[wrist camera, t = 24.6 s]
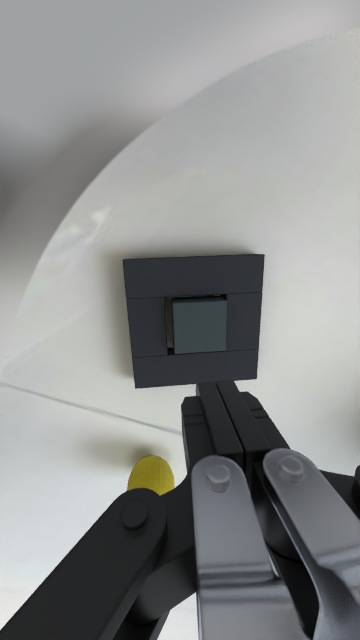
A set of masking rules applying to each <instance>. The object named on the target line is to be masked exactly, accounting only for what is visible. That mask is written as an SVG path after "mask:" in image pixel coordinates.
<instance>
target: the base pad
mask: <svg viewBox="0 0 360 640" xmlns="http://www.w3.org/2000/svg"><path fill="white" fill-rule="evenodd" d="M264 256H265V255H264V254H247V255H220V256H193V257H166V258H139V259H124V260H123V269H124V279H125V289H126V298H127V310H128V320H129V330H130V340H131V350H132V360H133V370H134V381H135V388H149V387H162V386H174V385H187V384H196V383H205V382H217V381H229V380H233V381H237V380H250V379H257V365H258V350H259V335H260V320H261V304H262V287H263V271H264ZM213 294H222V298H223V299H225V300H226V301H227V318H226V350H225V351H213V352H198V353H182V354H175V352H174V348H167V335H166V316H165V298H164V297H173V296H193V295H213Z"/></svg>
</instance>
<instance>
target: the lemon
mask: <svg viewBox="0 0 360 640" xmlns="http://www.w3.org/2000/svg"><path fill="white" fill-rule="evenodd" d="M135 488H148V489H151V490H153V491H155V492H156V493H157V494H159V496H160V495H162V494H164V493H166V492H168V491H170V490H172V489H174V476H173V473H172V470H171V468H170V466H169V465H168V463H167V462H166V461H165V460H163V459H162V458H160V457H158V456H147V457H145V458H143V459H141V460H140V461H139V462H138V463H137V464H136V465H135V466H134V468H133V469H132V472H131V474H130V477H129V480H128V487H127V491H129V490H131V489H135Z"/></svg>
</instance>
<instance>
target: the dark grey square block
mask: <svg viewBox="0 0 360 640" xmlns="http://www.w3.org/2000/svg"><path fill="white" fill-rule="evenodd" d="M171 304H172V329H173V346H174V352H175V354H182V353H198V352H213V351H225V350H226V318H227V301H226V300H225V299H223V298H222V297H221V296H198V297H176V298H171Z"/></svg>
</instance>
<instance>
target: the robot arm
mask: <svg viewBox="0 0 360 640" xmlns="http://www.w3.org/2000/svg"><path fill="white" fill-rule="evenodd" d="M181 413H182V436H183V445H184V452H185V459H186V468H187V475H186V477H185V479H184V480H183V481H182V482H181V484H180V485H178V486H177V487H176V488H174V489H172V490H170V491H168V492H166V493H164V494H162V495H160V496H159V494H157V493H156V492H155V491H153V490H151V489H148V488H135V489H131V490H129V491H126V492H125V493H123V494H121V495H120V496H119V497H118V498H117V499H116V500H115V501H114V502H113V503H112V504H111V505H110V506H109V507H108V508H107V510H106V511H105V512H104V513H103V514H102V515H101V516H100V518H99V519H98V520H97V521H96V522H95V523H94V524H93V526H92V527H91V528H90V529H89V530H88V531H87V532H86V533H85V535H84V536H83V537H82V538H81V539H80V540H79V541H78V543H77V544H76V545H75V546H74V547H73V548H72V549H71V551H70V552H69V553H68V554H67V555H66V556H65V557H64V559H63V560H62V561H61V562H60V563H59V564H58V565H57V566H56V568H55V569H54V570H53V571H52V572H51V573H50V574H49V576H48V577H47V578H46V579H45V580H44V581H43V582H42V584H41V585H40V586H39V587H38V588H37V589H36V590H35V591H34V593H33V594H32V595H31V596H30V597H29V598H28V599H27V601H26V602H25V603H24V604H23V605H22V606H21V607H20V609H19V610H18V611H17V612H16V613H15V614H14V615H13V617H12V618H11V619H10V620H9V621H8V622H7V623H6V624H5V626H4V627H3V628H2V629H1V630H0V640H157V638H158V636H159V634H160V632H161V630H162V628H163V626H164V623H165V621H166V619H167V617H168V614H169V612H170V610H171V609H172V608H173V607H175V606H176V605H178V604H179V603H181V602H182V601H184V600H185V599H186V598H188V597H189V596H191V595H192V594H194V593H195V592H196V602H197V620H198V638H199V640H360V465H359V466H358V467H357V468H356V471H355V475H354V477H353V476H348V475H342V474H337V473H331V472H326V471H322V470H319V469H318V468H317V467H316V466H315V465H314V464H313V463H312V461H310V460H309V459H308V458H307V457H305V456H304V455H302V454H301V453H299V452H296V451H294V450H291V449H290V447H289V446H288V444H287V443H286V441H285V440H284V438H283V437H282V435H281V434H280V432H279V431H278V429H277V428H276V426H275V425H274V423H273V422H272V420H271V419H270V418H269V416H268V414H267V412H266V411H265V410H264V408H263V406H262V405H261V403H260V402H259V400H258V399H257V398H256V397H254V396H253V395H251V394H250V393H249V392H240V391H239V390H238V388H237V386H236V384H235V383H234V381H233V380H229V381H217V382H205V383H196V396H191V397H185V398H184V401H183V403H182V405H181Z"/></svg>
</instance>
